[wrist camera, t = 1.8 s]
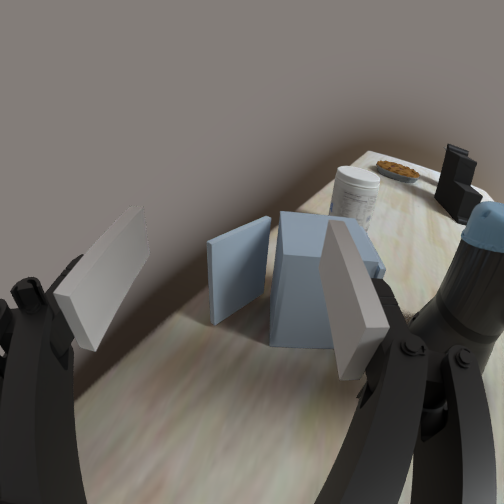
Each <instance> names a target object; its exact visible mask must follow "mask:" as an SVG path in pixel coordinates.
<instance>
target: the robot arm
mask: <svg viewBox="0 0 504 504" xmlns="http://www.w3.org/2000/svg"><path fill="white" fill-rule="evenodd" d="M149 255H150V250H149V244H148V236H147V230H146V222H145V214H144V207H141V206H130V207H129V208H128V209H127V210H126V211H125V212H124V213H123V214H122V215H121V216H120V217H119V218H118V219H117V220H116V221H115V222H114V223H113V224H112V225H111V226H110V227H109V228H108V229H107V230H106V231H105V232H104V233H103V235H102V236H101V237H100V238H99V239H98V240H97V241H96V242H95V243H94V244H93V246H92V247H91V248H90V249H89V250H88V251H87V252H86V253H85V255H83V254H82V255H80V256H78V257H77V258H76V259H74V260H72V261H71V263H70V264H69V265H68V266H67V267H66V270H64V271H63V272H62V273H61V275H60V276H59V277H58V278H57V279H56V281H54V283H53V284H52V285H51V287H50V288H49V289H48V290H47V291H46V293H44V291H43V289H42V286H41V284H40V281H39V280H38V279H37V278H35V277H28V278H25V279H22V280H21V281H19V282H17V283H16V285H14V286H13V288H12V290H11V291H10V292H11V294H12V296H13V298H14V300H15V302H16V304H17V306H18V308H16V309H10V308H9V307H8V305H7V303H6V301H5V300H3V299H0V345H1V347H2V349H3V350H4V351H5V354H4V356H3V357H2V356H0V504H87V501H86V496H85V492H84V487H83V482H82V476H81V471H80V464H79V457H78V450H77V441H76V431H75V418H74V397H73V362H74V351H73V348H72V346H71V342H72V341H73V339H74V337H75V339H76V341H77V343H78V345H79V347H80V348H84V349H87V350H91V351H95V352H96V350H97V348H98V346H99V344H100V342H101V340H102V338H103V336H104V334H105V332H106V330H107V328H108V327H109V325H110V323H111V321H112V319H113V317H114V315H115V314H116V312H117V310H118V308H119V306H120V305H121V303H122V301H123V299H124V298H125V296H126V294H127V292H128V291H129V289H130V287H131V285H132V284H133V282H134V280H135V279H136V277H137V275H138V273H139V272H140V270H141V268H142V267H143V265H144V263H145V262H146V260H147V259H148V257H149ZM318 269H319V273H320V278H321V283H322V287H323V292H324V297H325V302H326V307H327V312H328V317H329V322H330V328H331V333H332V339H333V345H334V350H335V356H336V362H337V369H338V375H339V380H360V378H361V377H362V375H363V373H364V372H365V371H366V375H367V380H368V381H367V382H366V384H365V385H364V387H363V388H362V389H361V391H360V392H359V394H358V395H357V397H356V398H358V399H359V398H360V399H359V402H358V405H357V408H356V411H355V414H354V416H353V419H352V422H351V424H350V427H349V429H348V432H347V435H346V437H345V439H344V442H343V444H342V447H341V449H340V451H339V454H338V456H337V458H336V460H335V463H334V465H333V467H332V469H331V471H330V473H329V475H328V478H327V480H326V482H325V484H324V486H323V488H322V490H321V491H320V493H319V495H318V497H317V499H316V501H315V503H314V504H398V501H399V499H400V496H401V493H402V490H403V487H404V484H405V481H406V477H407V474H408V470H409V467H410V463H411V460H412V456H413V478H412V492H411V503H410V504H496V493H497V485H496V461H495V449H494V440H493V432H492V425H491V419H490V413H489V408H488V403H487V398H486V393H485V389H484V384H483V380H482V376H481V375H482V373H483V371H484V369H485V366H486V364H487V362H488V359H489V357H490V355H491V352H492V350H493V347H494V344H495V342H496V340H497V339H498V338H499V336H500V335H501V333H502V332H503V331H504V204H502V203H498V202H491V201H486V202H481V203H479V204H478V205H476V206H475V208H474V209H473V211H472V213H471V216H470V218H469V221H468V223H467V225H466V228H465V229H464V230H463V231H462V234H461V241H460V243H459V246H458V248H457V251H456V253H455V256H454V258H453V260H452V263H451V265H450V267H449V269H448V271H447V273H446V275H445V278H444V280H443V282H442V284H441V286H440V288H439V290H438V292H437V294H436V295H435V297H433V298H432V299H431V300H430V301H429V302H428V303H427V304H426V305H425V306H424V307H423V308H422V309H421V310H420V311H419V312H417V313H416V314H415V315H414V316H413V317H412V318H411V319H410V321H409V322H408V324H407V323H406V321H405V319H404V316H403V314H402V312H401V310H400V307H399V306H398V303H397V301H396V298H394V297H395V296H394V294H393V292H392V290H391V288H390V286H389V285H388V284H387V283H386V282H385V281H384V280H383V279H379V278H370V276H369V274H368V271H367V269H366V267H365V265H364V262H363V260H362V258H361V256H360V253H359V251H358V249H357V247H356V245H355V243H354V240H353V238H352V236H351V234H350V232H349V230H348V228H347V226H346V224H345V222H344V221H339V220H328V225H327V230H326V235H325V240H324V245H323V249H322V254H321V258H320V263H319V267H318Z"/></svg>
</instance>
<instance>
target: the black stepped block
mask: <svg viewBox="0 0 504 504" xmlns="http://www.w3.org/2000/svg"><path fill="white" fill-rule="evenodd" d="M476 165H477V162H475V161H474V160H472V159H470V158H469V157H468V151H467V150H464V149H461V148H459V147H456V146H454V145H451V144H448V145H447V149H446V154H445V159H444V163H443V167H442V171H441V174H440V178H439V182H438V186H437V189H436V193H435V196H434V197H435V198H436V199H437V201H438V202H439V203H440V204H441V205H442V206H443V207H444V208H445V209H446V210H447V211H448V213H449V214H450V215H451V216H452V217H453V218H454V219H455V220H456V222H457V223H459V224H463V225H467V223H468V221H469V218H470V216H471V213H472V211H473V209H474V208H475V206H476V205H478V204H479V203H480V202H481V200H482V198H483V196H482V195H481V194H480V193H478V192H477V191H476V190H475V189H473V188H472V187H471V182H472V179H473V175H474V171H475V167H476Z"/></svg>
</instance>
